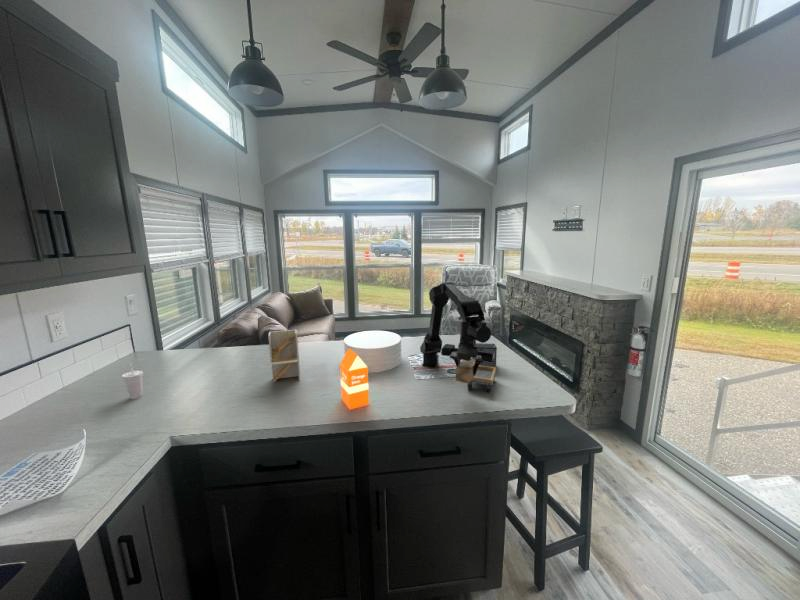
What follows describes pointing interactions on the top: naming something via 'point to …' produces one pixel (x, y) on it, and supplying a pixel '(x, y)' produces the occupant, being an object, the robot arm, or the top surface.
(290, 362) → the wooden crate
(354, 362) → the orange juice
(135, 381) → the smoothie
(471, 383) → the wooden frame tray
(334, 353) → the top surface
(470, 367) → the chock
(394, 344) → the plate stack
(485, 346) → the small box
